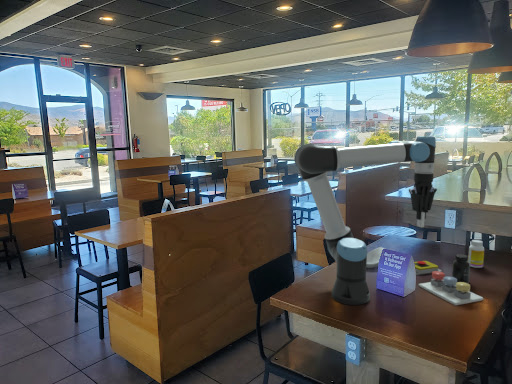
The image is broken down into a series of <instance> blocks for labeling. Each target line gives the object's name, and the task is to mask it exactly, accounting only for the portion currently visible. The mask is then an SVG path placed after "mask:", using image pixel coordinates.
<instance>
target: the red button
mask: <svg viewBox="0 0 512 384" xmlns="http://www.w3.org/2000/svg"><path fill="white" fill-rule="evenodd" d="M444 277H446V273H445V272H443V271H441V272H439V271H433V272H432V273H431V279H436V281H437V282H439V281H440V280H444Z"/></svg>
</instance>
